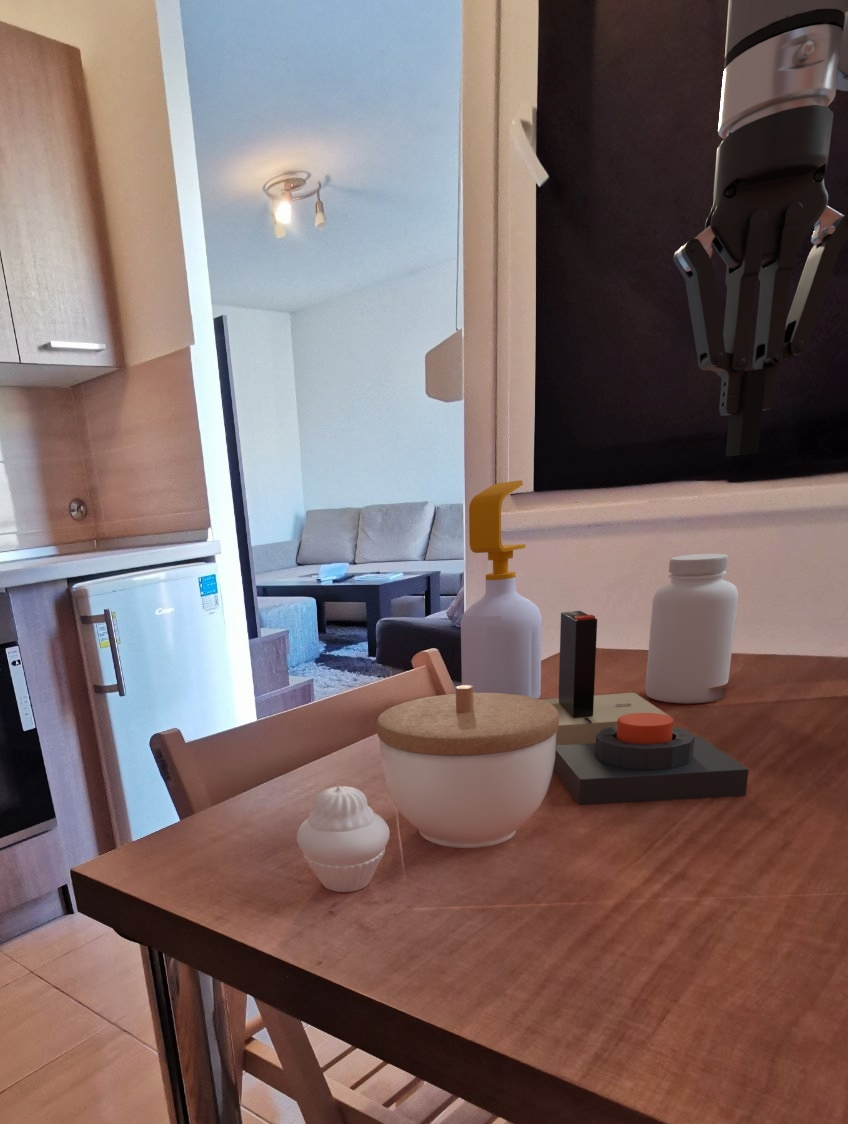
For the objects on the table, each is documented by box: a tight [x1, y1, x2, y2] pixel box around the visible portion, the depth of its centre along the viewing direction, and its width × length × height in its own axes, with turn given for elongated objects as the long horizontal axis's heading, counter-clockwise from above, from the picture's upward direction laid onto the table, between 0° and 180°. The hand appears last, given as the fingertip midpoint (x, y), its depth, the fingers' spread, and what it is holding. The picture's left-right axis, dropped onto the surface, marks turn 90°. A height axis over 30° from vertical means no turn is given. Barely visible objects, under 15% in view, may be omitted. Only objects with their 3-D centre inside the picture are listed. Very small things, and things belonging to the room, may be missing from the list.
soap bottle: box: [460, 479, 543, 699], centre depth 88 cm, size 9×9×25 cm
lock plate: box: [542, 692, 670, 746], centre depth 75 cm, size 14×10×3 cm
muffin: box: [296, 785, 391, 893], centre depth 51 cm, size 6×6×7 cm
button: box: [616, 713, 675, 744], centre depth 61 cm, size 4×4×2 cm
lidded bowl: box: [376, 684, 559, 849], centre depth 56 cm, size 13×13×11 cm
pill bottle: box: [645, 553, 739, 705], centre depth 82 cm, size 8×8×15 cm
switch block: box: [553, 726, 750, 806], centre depth 62 cm, size 12×9×4 cm
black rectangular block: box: [558, 610, 598, 717], centre depth 72 cm, size 6×2×9 cm, turn 172°
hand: (741, 454), depth 67 cm, fingers closed
